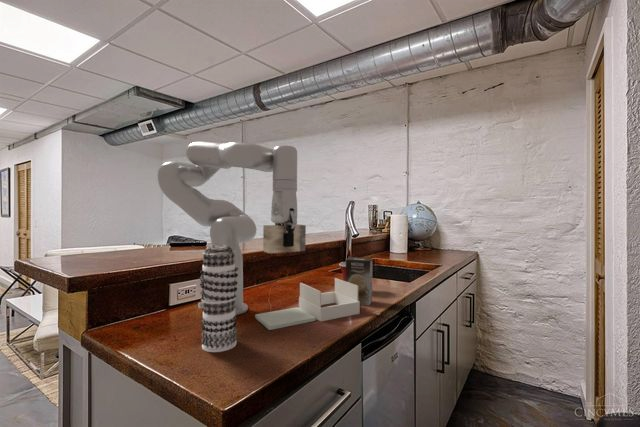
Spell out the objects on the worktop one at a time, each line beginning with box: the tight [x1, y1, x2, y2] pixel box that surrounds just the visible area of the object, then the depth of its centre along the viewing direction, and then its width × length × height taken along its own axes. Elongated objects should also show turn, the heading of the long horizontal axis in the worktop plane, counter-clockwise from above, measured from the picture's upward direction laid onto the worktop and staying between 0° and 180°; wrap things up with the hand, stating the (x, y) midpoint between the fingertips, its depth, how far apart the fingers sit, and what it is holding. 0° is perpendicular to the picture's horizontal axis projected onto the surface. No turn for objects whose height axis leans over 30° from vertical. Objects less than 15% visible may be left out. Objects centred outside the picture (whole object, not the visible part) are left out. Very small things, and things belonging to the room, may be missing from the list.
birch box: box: [262, 224, 307, 254], centre depth 101 cm, size 12×5×8 cm, turn 121°
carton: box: [298, 277, 361, 322], centre depth 109 cm, size 15×15×9 cm
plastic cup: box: [338, 261, 346, 281], centre depth 135 cm, size 11×11×12 cm
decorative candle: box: [199, 245, 238, 353], centre depth 82 cm, size 9×9×25 cm
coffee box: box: [345, 256, 374, 307], centre depth 119 cm, size 9×6×16 cm
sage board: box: [254, 306, 316, 331], centre depth 101 cm, size 15×12×1 cm
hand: (284, 244), depth 101 cm, fingers closed on birch box, 5 cm apart
